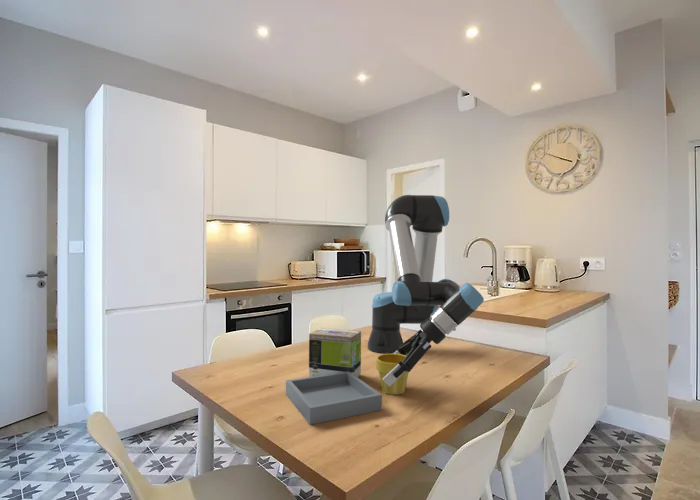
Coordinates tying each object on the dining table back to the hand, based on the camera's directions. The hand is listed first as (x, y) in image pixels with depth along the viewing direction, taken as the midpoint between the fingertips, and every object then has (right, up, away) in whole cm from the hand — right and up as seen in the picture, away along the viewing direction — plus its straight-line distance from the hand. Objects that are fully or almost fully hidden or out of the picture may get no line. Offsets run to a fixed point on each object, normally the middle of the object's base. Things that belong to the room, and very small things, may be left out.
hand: (385, 374), depth 112 cm
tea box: (-16, -4, +11) cm, 20 cm away
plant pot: (+2, -5, 0) cm, 5 cm away
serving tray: (-16, -4, -9) cm, 19 cm away
